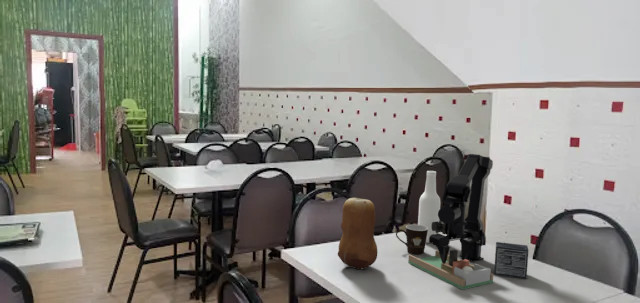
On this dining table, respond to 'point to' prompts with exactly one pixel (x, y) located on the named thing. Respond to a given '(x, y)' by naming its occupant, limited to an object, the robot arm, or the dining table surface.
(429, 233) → the alcohol
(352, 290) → the dining table surface
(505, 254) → the small box
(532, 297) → the dining table surface
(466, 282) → the tray
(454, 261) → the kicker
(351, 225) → the butternut squash
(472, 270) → the ball
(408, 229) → the coffee mug
